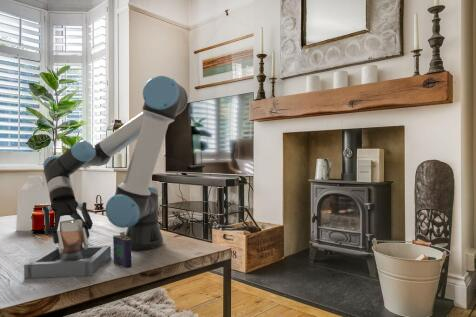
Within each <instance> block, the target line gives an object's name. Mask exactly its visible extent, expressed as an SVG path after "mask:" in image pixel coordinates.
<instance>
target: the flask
mask: <svg viewBox="0 0 476 317" xmlns="http://www.w3.org/2000/svg"><path fill="white" fill-rule="evenodd" d="M125 234H126V231H122V232H119V235H117V234H115V235H113V236H112V239H113V241H112V242H113V243H112V244H113V257H112V259H113V264H114V265H117V266H120V267H122V268H124V269H131V268H132V267H133V262H132V261H133V260H132V259H133V258H132V250H131V239H130V238H129V237H126V235H125Z"/></svg>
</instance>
